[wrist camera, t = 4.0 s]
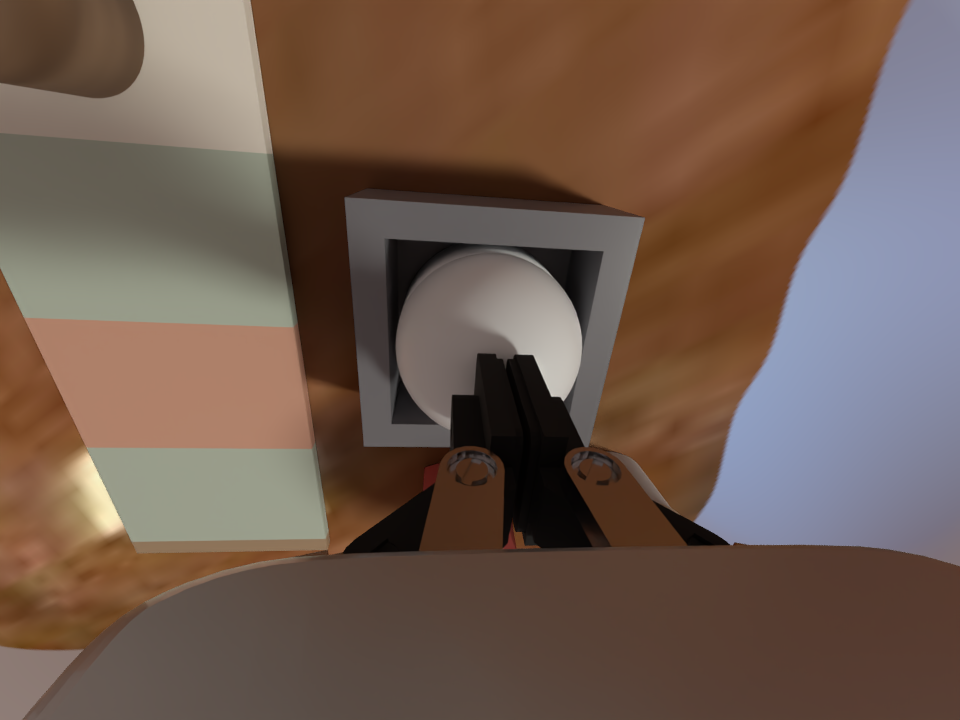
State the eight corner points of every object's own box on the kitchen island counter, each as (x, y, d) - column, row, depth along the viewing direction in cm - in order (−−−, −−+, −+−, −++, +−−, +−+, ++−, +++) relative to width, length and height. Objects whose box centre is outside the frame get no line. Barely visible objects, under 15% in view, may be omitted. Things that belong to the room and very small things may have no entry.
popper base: (366, 188, 16) (344, 197, 13) (603, 205, 17) (644, 217, 14) (378, 396, 21) (363, 446, 17) (564, 400, 22) (588, 448, 18)
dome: (403, 231, 16) (377, 276, 10) (567, 241, 17) (636, 289, 11) (405, 377, 20) (387, 480, 13) (544, 381, 20) (587, 480, 14)
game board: (-208, -217, 11) (-242, -236, 10) (227, -152, 12) (217, -166, 11) (144, 544, 24) (137, 553, 24) (329, 541, 25) (327, 549, 25)
